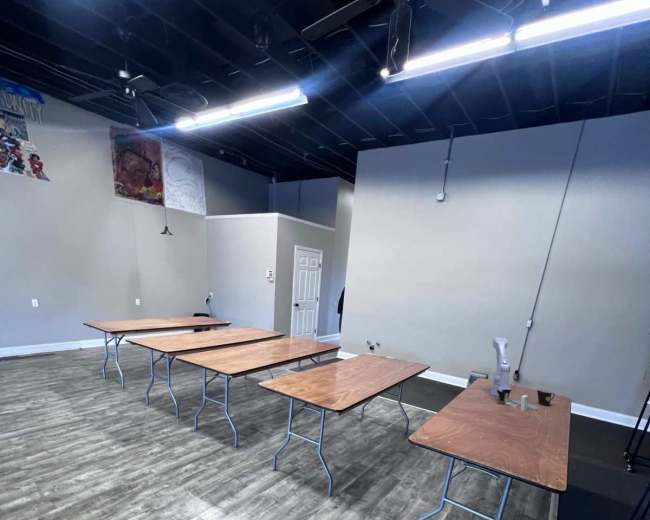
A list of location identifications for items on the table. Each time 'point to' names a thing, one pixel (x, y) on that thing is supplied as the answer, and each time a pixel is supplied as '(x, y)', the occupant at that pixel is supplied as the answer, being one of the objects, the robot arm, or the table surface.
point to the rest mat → (528, 404)
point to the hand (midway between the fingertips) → (503, 399)
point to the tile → (524, 402)
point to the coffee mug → (544, 397)
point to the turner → (508, 402)
